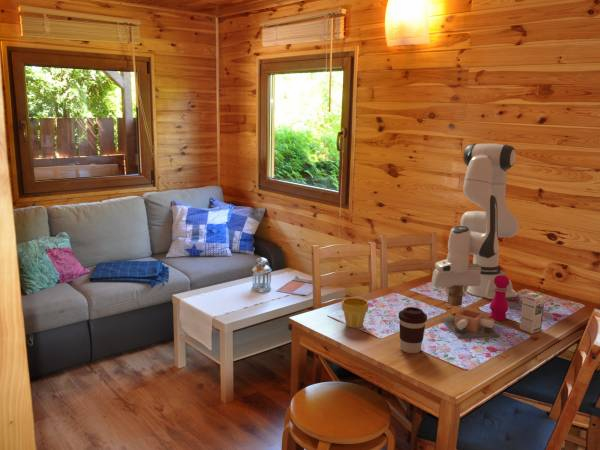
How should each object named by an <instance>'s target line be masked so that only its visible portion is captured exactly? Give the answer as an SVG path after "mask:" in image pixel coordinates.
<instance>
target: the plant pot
mask: <svg viewBox="0 0 600 450" xmlns="http://www.w3.org/2000/svg"><path fill="white" fill-rule="evenodd" d="M341 310H342V311H343V315H344V320H345V321H344V322H345V325H346V326H347V327H348V328H352V329H359V328H362V327H363V325H364V321H365V317H366V314H367V312H368V311H369V302H368V300H366V299H365V298H362V297H346V298H344V299H343V300H342V301H341Z"/></svg>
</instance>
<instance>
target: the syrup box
mask: <svg viewBox="0 0 600 450" xmlns="http://www.w3.org/2000/svg"><path fill="white" fill-rule="evenodd" d="M545 298H546V297H545V296H544V295H542V294H539V293H536V292H530V293H526V294H523V295H522V302H521V303H522V304H521V311H520V313H521V314H520V323H519V329H520V330H522V331H525V332H527V333H529V334H535V333H538V332H541V331H542V327H543V326H542V323H543V315H544V306H545Z"/></svg>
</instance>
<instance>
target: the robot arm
mask: <svg viewBox="0 0 600 450" xmlns="http://www.w3.org/2000/svg"><path fill="white" fill-rule="evenodd" d="M516 159H517V150H516V149H515V148H514V146H512V145H508V144H500V143H493V142H491V143H470V144H468V145H467V146H466V147H465V149H464V151H463V162H464V164H465V165H466V166H467V168H466V171H465V175H464V180H463V188H462V191H463V195H464V197H465V198H466V199H467V200H468V201H470V202H471V203H473V204H475V205H477V206H478V207H480V208H482V211H481V210H469V211H468V210H467V211H465V212H464V213H463V214H462V216H461V217H460V223H459V225H455V226H453V227H451V228H450V232H449V236H448V242H447V249H448V253H447V256H446V259H443V260H439V261H436V262H435V264H434V266H435V269H434V270H433V272H432V277H431V284H432V285H433V286H434V287H435V288H443V289H444V290H445V292H446V293H445V295H446V297H448V296H451V292H450V291H448V289H449V287H452V286H456V285H463V296H462V297H464V296H465V294H466V292H468V293H469V294H470V295H473V296H475V297H480V298H481V297H482V298H485V299H488V300H493V298H494V296H495V289H494V288H495V284H494V279H495V277H496V276H498V275H500V273H501V272H504V273H505V271H506V268H505V267H504V266H501V265H499V259H500V257H499V256H500V250H499V238H512V237H514V236H516V235H517V233H518V232H519V229H520V222H519V220H518V218H517V217H516V216H515V215H514V214H513V213H512V212H511V210H510V208H508V205H507V201H506V188H507V176H508V175H507V174H508V173H507V171H508V170H510V169H511V168H512V167H513V166H514V165H515V162H516ZM470 255H473V258H472V263H471V264H470ZM517 297H518V293H517V292H516V290H514V289H513V284H512V281H511V280H510V279H509V285H508V286H507V291H506V299H507V298H517Z"/></svg>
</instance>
